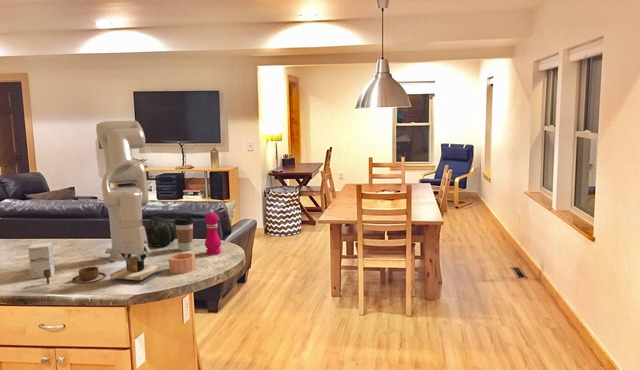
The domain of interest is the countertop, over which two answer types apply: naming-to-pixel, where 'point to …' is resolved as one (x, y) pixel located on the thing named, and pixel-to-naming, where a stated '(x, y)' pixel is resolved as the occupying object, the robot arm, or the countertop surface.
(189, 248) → the coffee cup
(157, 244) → the squash
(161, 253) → the countertop surface
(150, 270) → the lid
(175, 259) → the bowl
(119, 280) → the tray
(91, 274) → the place setting
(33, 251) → the supplement box
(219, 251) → the pepper mill
